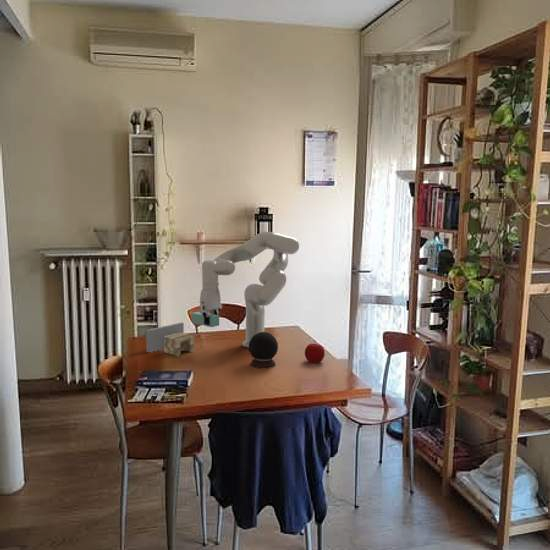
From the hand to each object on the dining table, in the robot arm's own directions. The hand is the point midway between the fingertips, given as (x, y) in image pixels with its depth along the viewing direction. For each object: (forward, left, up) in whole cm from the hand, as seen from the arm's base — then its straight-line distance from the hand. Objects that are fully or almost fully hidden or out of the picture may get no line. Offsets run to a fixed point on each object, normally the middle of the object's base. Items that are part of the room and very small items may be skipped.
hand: (211, 323), depth 257 cm
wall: (+21, +10, -14) cm, 28 cm away
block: (+11, +10, -14) cm, 21 cm away
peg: (+4, 0, -1) cm, 4 cm away
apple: (-47, -21, -15) cm, 53 cm away
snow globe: (-32, -2, -15) cm, 35 cm away
